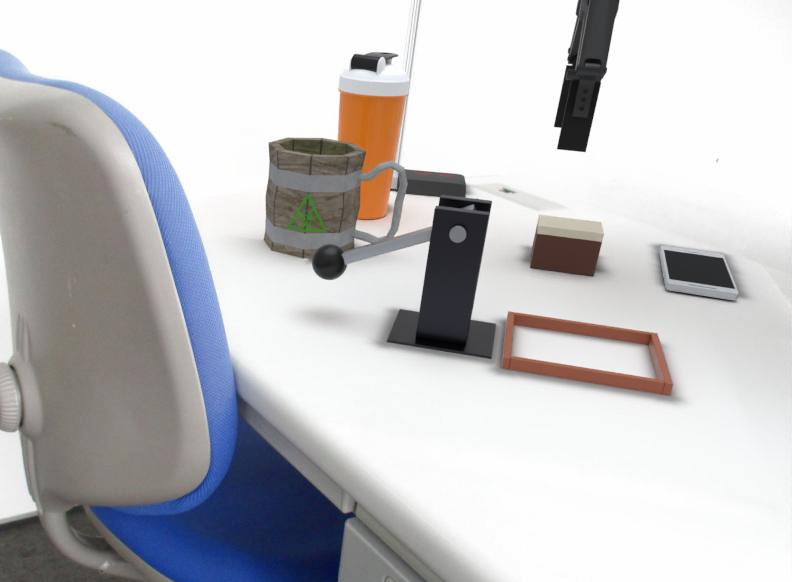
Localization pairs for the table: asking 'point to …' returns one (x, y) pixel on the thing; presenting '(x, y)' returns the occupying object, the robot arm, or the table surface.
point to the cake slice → (566, 245)
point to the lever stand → (450, 284)
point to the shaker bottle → (373, 121)
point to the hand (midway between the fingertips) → (568, 138)
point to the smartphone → (697, 273)
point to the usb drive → (432, 183)
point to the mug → (319, 195)
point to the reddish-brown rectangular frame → (580, 373)
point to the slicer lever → (364, 252)
